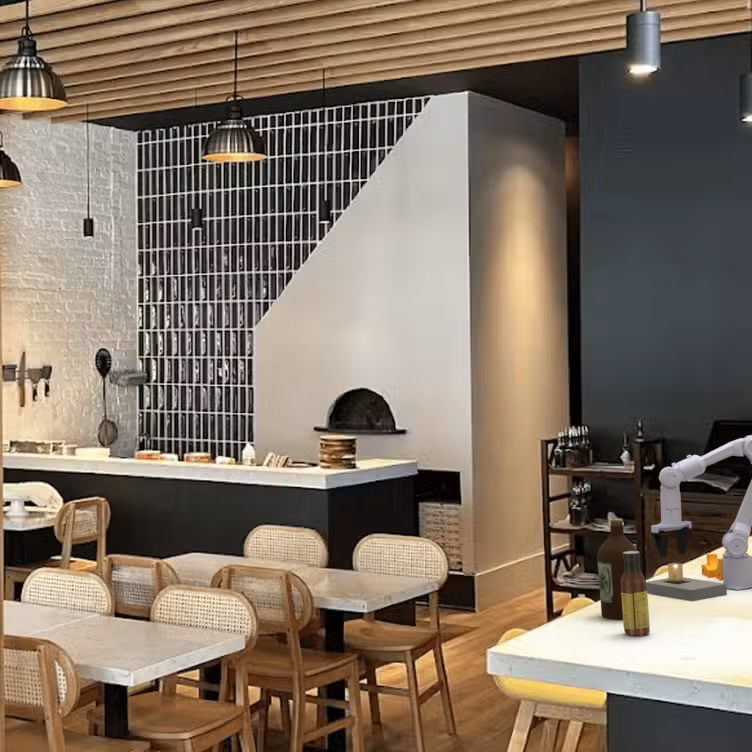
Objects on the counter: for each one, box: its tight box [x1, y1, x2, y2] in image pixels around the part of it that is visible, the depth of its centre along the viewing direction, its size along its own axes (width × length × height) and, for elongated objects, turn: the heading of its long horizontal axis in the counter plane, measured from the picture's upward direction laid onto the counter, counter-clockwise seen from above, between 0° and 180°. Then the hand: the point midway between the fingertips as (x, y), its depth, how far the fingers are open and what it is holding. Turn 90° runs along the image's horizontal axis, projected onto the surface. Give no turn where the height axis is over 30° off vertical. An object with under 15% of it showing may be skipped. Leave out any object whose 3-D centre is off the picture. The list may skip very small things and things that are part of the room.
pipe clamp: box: [701, 552, 723, 581], centre depth 378 cm, size 12×4×6 cm, turn 4°
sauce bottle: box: [621, 550, 651, 637], centre depth 302 cm, size 7×6×20 cm
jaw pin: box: [667, 562, 684, 584], centre depth 355 cm, size 4×4×8 cm
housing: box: [646, 576, 728, 602], centre depth 353 cm, size 14×18×3 cm
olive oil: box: [596, 519, 638, 621], centre depth 324 cm, size 11×11×25 cm
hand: (672, 555), depth 363 cm, fingers open, 7 cm apart
